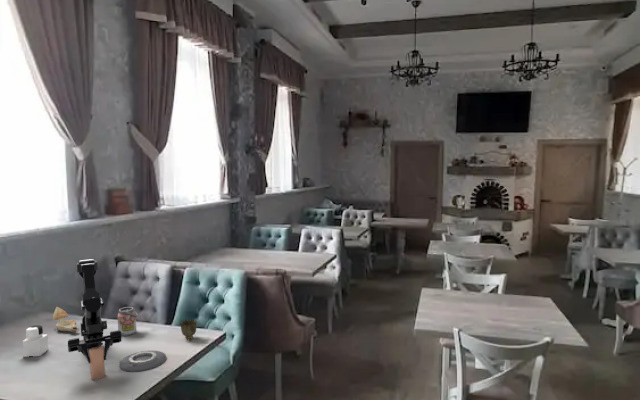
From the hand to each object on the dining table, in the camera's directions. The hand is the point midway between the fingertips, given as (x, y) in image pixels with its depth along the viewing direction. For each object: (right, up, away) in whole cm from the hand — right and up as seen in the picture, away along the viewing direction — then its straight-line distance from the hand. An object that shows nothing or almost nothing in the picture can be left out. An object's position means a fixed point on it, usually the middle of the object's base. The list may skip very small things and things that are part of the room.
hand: (97, 361), depth 170 cm
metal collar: (+12, -5, +14) cm, 19 cm away
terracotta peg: (-1, -7, +2) cm, 7 cm away
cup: (+24, -3, +38) cm, 45 cm away
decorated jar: (-8, -3, +47) cm, 47 cm away
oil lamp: (-41, -4, +52) cm, 67 cm away
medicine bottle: (-39, -6, +25) cm, 47 cm away
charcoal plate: (+12, -5, +14) cm, 19 cm away
